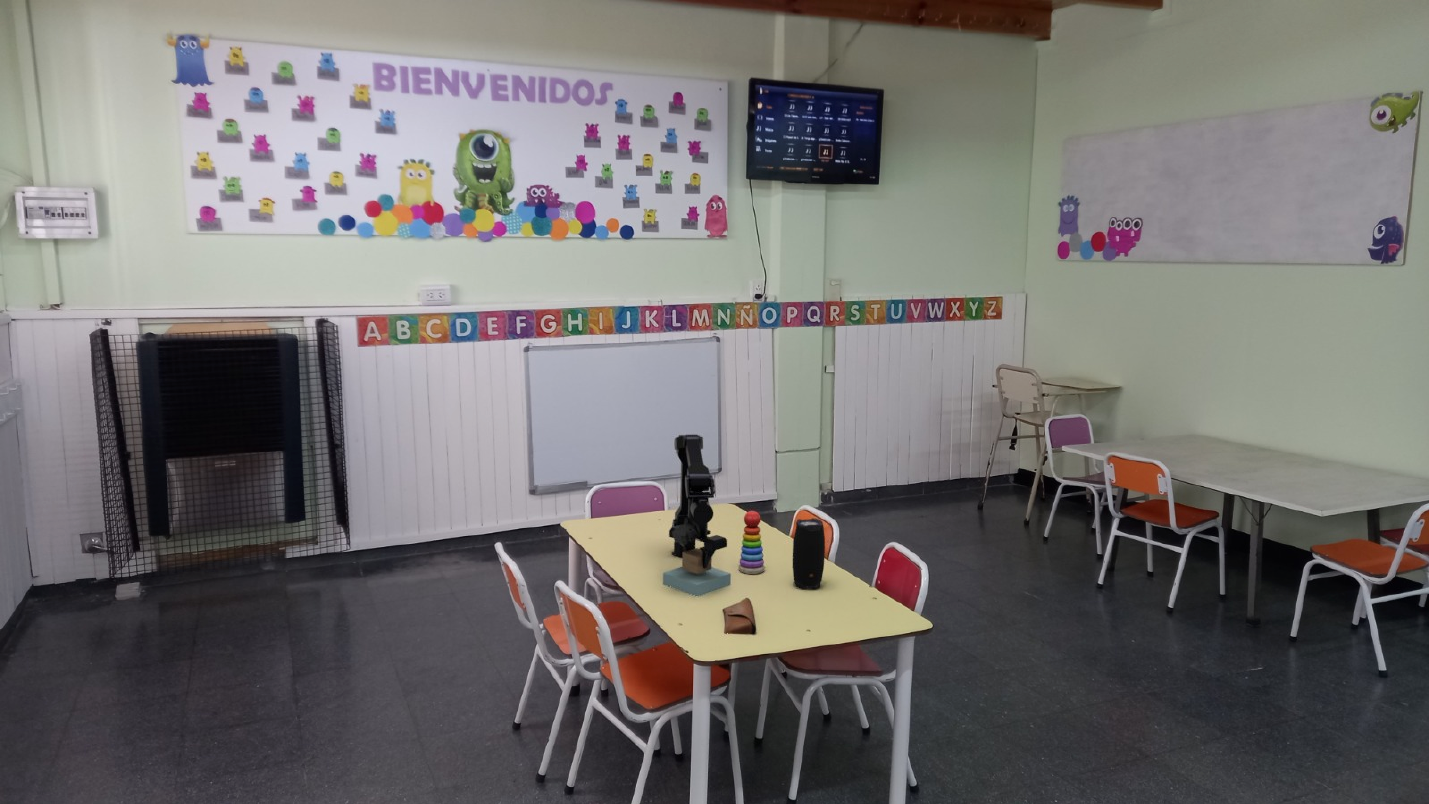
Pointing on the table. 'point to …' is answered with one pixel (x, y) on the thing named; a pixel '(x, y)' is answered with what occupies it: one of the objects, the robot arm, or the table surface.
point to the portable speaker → (808, 553)
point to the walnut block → (694, 561)
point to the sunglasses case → (740, 618)
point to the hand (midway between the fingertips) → (697, 565)
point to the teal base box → (697, 580)
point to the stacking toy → (751, 545)
